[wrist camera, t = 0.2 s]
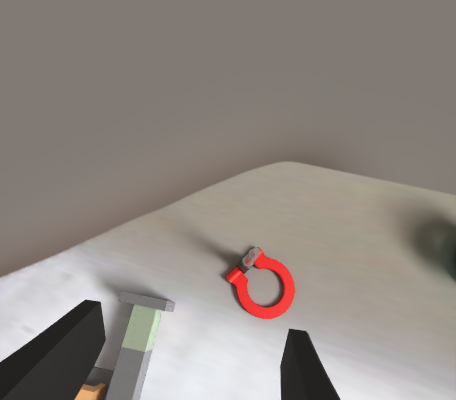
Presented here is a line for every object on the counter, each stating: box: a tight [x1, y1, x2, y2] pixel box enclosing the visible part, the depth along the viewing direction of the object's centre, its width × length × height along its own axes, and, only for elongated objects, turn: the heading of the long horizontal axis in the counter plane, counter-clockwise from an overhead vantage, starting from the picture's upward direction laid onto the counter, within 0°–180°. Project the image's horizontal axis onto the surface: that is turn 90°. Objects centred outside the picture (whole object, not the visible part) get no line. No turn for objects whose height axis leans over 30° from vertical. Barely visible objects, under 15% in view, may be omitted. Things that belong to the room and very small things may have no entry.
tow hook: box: [226, 247, 295, 319], centre depth 36 cm, size 8×13×9 cm
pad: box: [84, 367, 114, 400], centre depth 36 cm, size 7×8×1 cm
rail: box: [105, 291, 175, 400], centre depth 34 cm, size 19×6×6 cm, turn 169°
